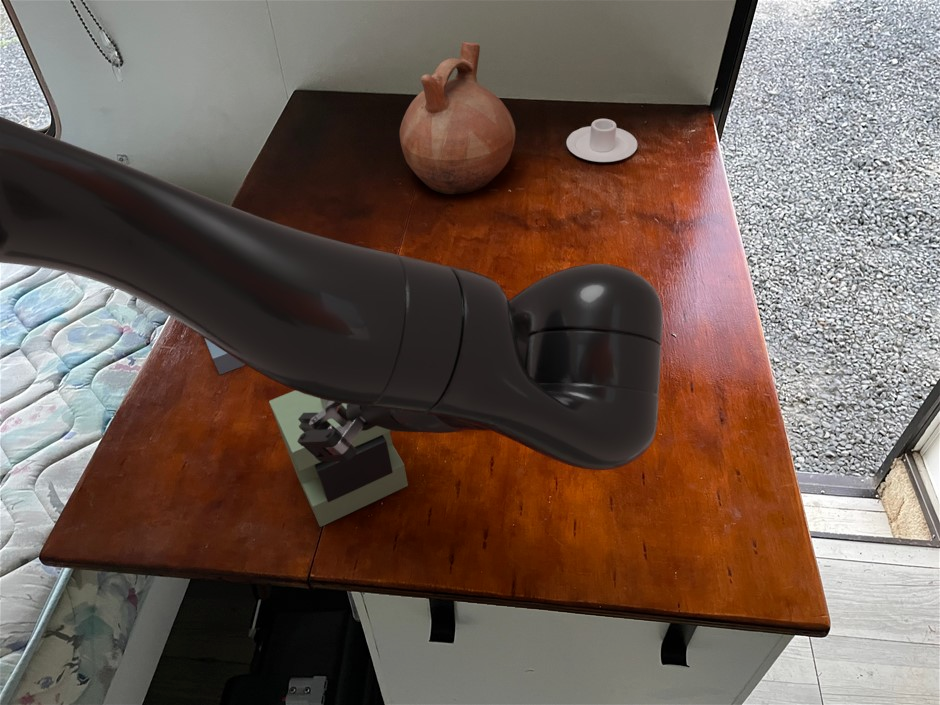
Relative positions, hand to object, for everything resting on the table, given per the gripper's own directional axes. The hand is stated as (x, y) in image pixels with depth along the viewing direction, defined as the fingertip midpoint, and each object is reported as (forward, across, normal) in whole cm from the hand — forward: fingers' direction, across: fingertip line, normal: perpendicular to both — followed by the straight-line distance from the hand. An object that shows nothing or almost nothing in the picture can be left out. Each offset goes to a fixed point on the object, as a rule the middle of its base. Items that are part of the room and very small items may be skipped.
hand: (337, 387), depth 64 cm
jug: (+36, -52, +4) cm, 63 cm away
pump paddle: (+6, +4, +10) cm, 12 cm away
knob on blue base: (+33, -7, -4) cm, 34 cm away
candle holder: (+25, -71, +17) cm, 77 cm away
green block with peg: (+10, +3, +12) cm, 16 cm away
